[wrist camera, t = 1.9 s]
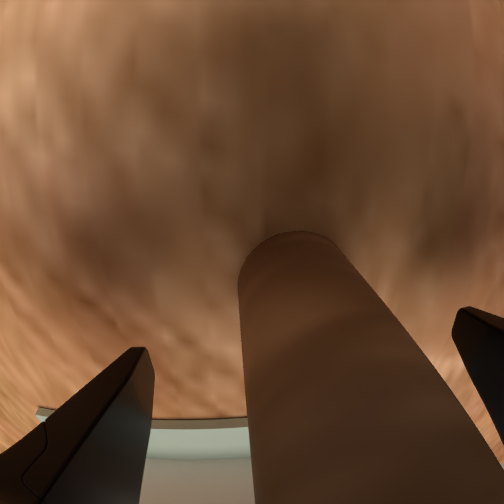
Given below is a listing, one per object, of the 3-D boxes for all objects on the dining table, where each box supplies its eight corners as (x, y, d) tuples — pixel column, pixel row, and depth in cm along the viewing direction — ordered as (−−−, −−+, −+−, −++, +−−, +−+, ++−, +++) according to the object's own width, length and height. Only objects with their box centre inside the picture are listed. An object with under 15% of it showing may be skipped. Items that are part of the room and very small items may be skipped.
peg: (351, 227, 10) (578, 476, 1) (343, 325, 12) (457, 562, 3) (233, 235, 10) (264, 627, 1) (242, 336, 12) (269, 618, 2)
